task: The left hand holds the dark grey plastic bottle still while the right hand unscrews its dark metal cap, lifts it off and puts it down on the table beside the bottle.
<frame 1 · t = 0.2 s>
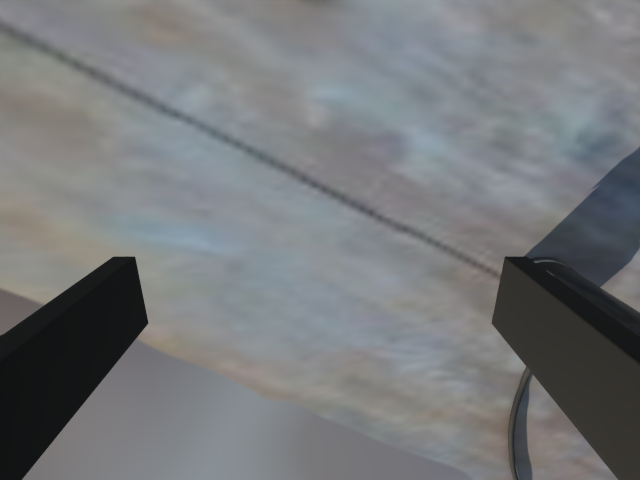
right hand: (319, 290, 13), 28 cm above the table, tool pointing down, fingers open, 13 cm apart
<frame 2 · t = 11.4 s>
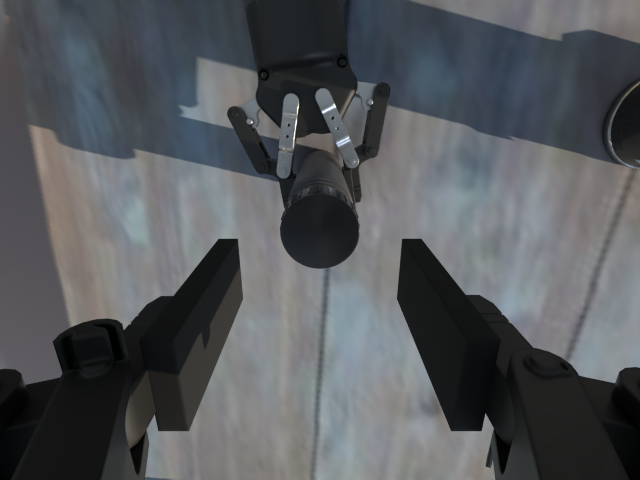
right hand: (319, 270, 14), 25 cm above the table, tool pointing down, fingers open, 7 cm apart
left hand: (324, 210, 33), fingers closed on bottle, 4 cm apart
bottle: (320, 170, 38), on the table, touching left hand
cap: (319, 230, 19), point 20 cm above the table, screwed on, not yet turned
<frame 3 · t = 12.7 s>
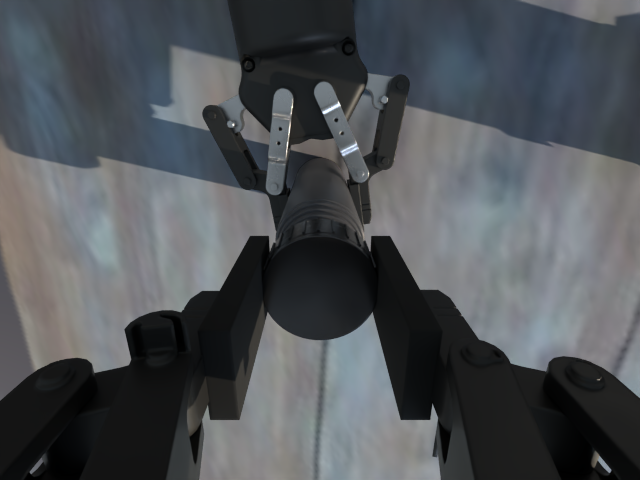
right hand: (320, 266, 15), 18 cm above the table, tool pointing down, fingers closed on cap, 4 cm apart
left hand: (325, 232, 27), fingers closed on bottle, 4 cm apart
bottle: (320, 182, 32), on the table, touching left hand
cap: (320, 287, 13), point 20 cm above the table, screwed on, not yet turned, touching right hand
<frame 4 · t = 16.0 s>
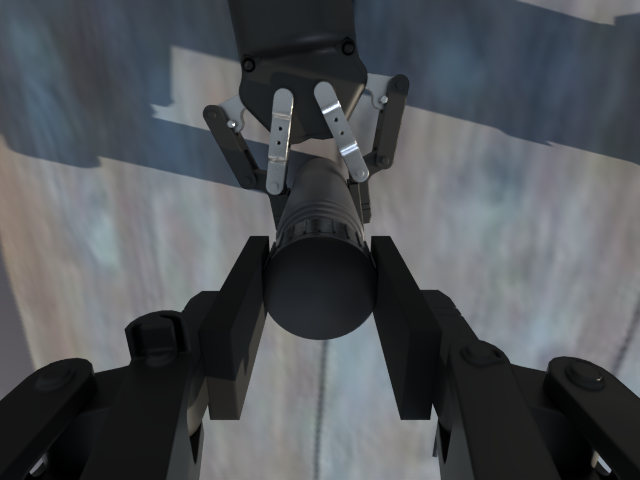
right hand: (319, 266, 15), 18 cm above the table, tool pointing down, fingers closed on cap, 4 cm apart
left hand: (325, 232, 27), fingers closed on bottle, 4 cm apart
bottle: (320, 182, 32), on the table, touching left hand
cap: (320, 287, 13), point 20 cm above the table, turned 100° so far, risen 0.1 cm, still on its thread, touching right hand
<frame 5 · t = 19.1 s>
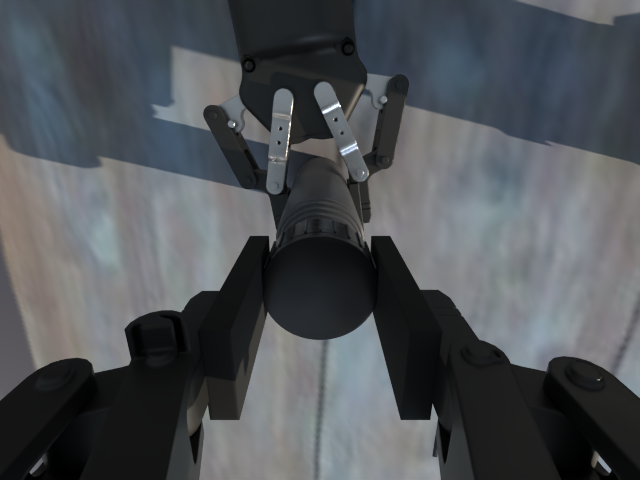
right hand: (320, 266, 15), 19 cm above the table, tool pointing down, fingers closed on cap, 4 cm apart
left hand: (325, 231, 27), fingers closed on bottle, 4 cm apart
bottle: (320, 181, 32), on the table, touching left hand
cap: (320, 286, 13), point 20 cm above the table, turned 200° so far, risen 0.2 cm, still on its thread, touching right hand
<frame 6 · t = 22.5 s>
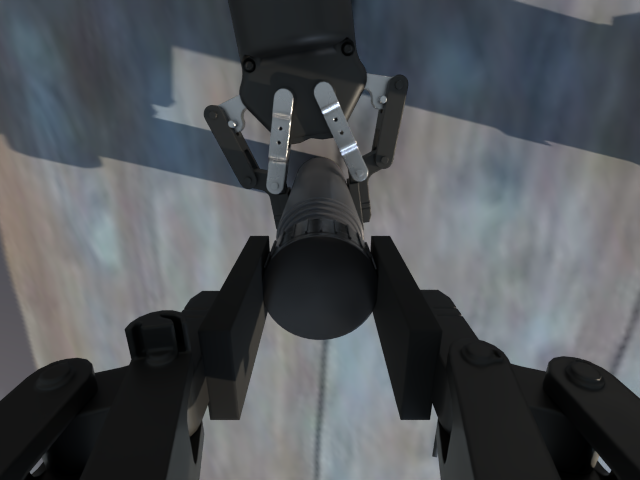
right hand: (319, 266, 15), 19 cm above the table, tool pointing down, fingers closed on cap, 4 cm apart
left hand: (325, 231, 27), fingers closed on bottle, 4 cm apart
bottle: (320, 181, 32), on the table, touching left hand
cap: (320, 286, 13), point 20 cm above the table, turned 300° so far, risen 0.3 cm, still on its thread, touching right hand
when the right hand's fingers open (1 cm above the table, at t = 29.7 s): cap stays where it is, point 2 cm above the table.
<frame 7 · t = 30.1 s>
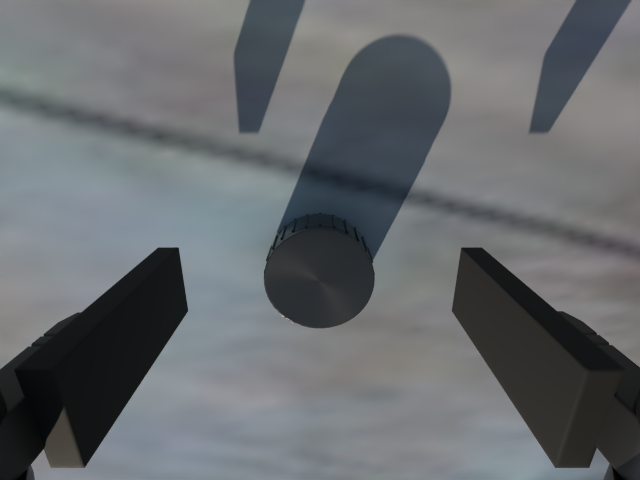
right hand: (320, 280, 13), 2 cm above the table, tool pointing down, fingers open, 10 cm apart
cap: (319, 278, 14), point 2 cm above the table, off its thread
when the left hand's fingers open (6 cm above the table, at t = 30.9 s): bottle stays where it is, on the table.
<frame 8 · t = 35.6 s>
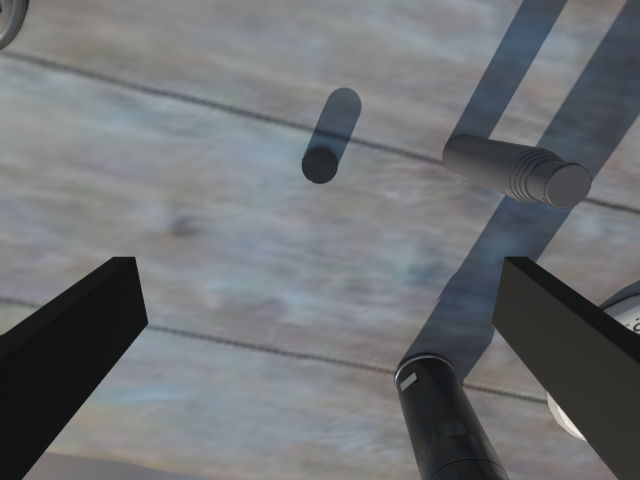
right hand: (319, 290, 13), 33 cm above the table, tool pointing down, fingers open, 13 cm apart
bottle: (460, 153, 43), on the table
cap: (319, 165, 42), point 2 cm above the table, off its thread
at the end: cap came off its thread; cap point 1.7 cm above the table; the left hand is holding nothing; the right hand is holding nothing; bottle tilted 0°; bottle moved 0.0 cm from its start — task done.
